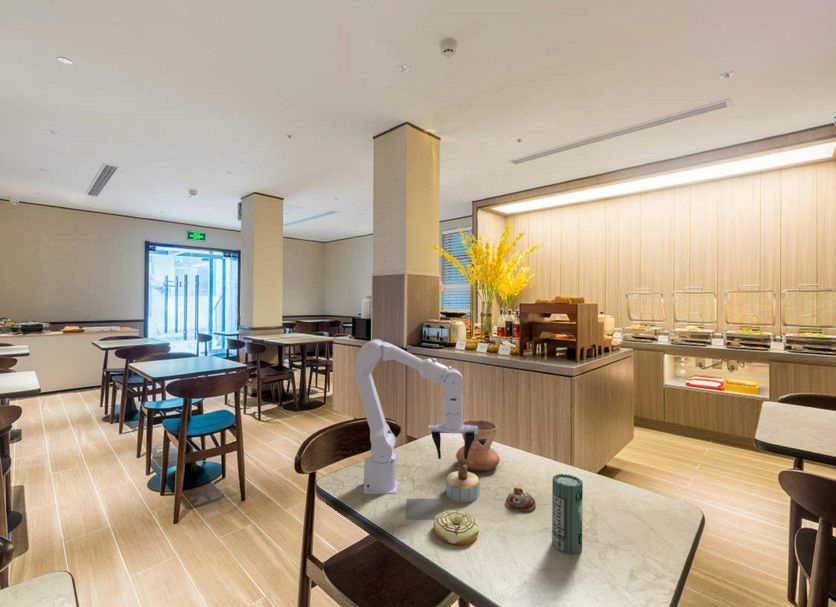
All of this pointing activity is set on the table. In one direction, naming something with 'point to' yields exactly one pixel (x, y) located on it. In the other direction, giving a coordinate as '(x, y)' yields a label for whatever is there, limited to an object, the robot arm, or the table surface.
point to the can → (567, 513)
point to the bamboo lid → (462, 478)
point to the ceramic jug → (480, 447)
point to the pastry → (520, 501)
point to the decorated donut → (456, 527)
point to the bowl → (462, 493)
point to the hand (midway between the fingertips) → (452, 457)
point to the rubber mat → (424, 508)
